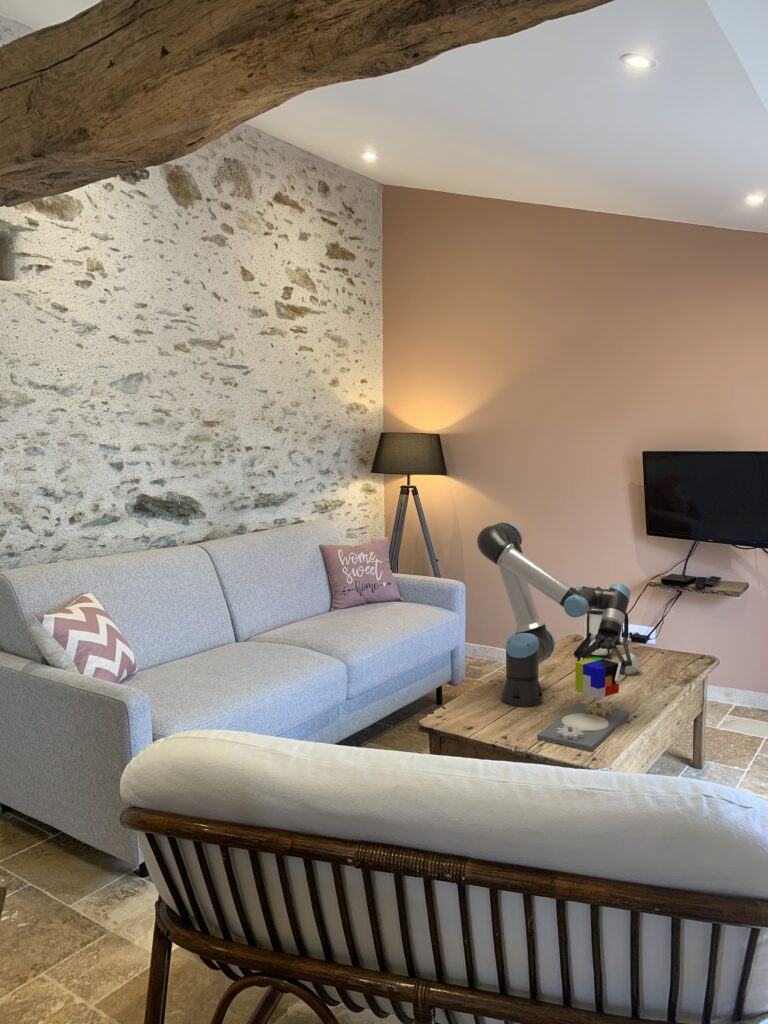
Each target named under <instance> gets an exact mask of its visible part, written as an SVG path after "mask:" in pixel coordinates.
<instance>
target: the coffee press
mask: <svg viewBox="0 0 768 1024" xmlns="http://www.w3.org/2000/svg"><path fill="white" fill-rule="evenodd" d="M596 588H599V589H602V588H601V587H600V586H596ZM603 611H604V610H599V609H591V610H590V611H588V612H587V613H586V614H585V615H583V634H582V635H583V636H582V637H583V641H584V640H585V639H586V637H587V634H588V633H591V634H592V635H597V633H598V629H599V626H600V622H601V618H602V615H603ZM624 637H626V638H627V640H628V638H629V616H628V613H627V612H626V614H625V619H624V622H623V637H622V639H624ZM583 641H582V642H583ZM595 641H596V639H594V640H593V641H591V643H590V644H589V645H588V647H589V646H591V645H592V644H593V642H595ZM597 645H598V644H597ZM617 646H623V645H622V644H621V642H620V643H619V644H618V645H617ZM588 647H587V648H588ZM587 648H586V649H587ZM612 652H613V649H611V650H608V649H601V648H599V649H598V650H595V651H594V652H593V653H591V654H590V655H589V656H587V657H586V658H585V659H589V658H590V656H591V655H593V656H605V657H606V659H607V660H612V658H613V656H612V654H611V653H612Z"/></svg>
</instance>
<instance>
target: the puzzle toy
mask: <svg viewBox="0 0 768 1024" xmlns="http://www.w3.org/2000/svg"><path fill="white" fill-rule="evenodd" d="M618 665H619V662H615V661H612V660H610V659H607V658H606V659H605V658H603V657H598V656H593V657H589V658H585V659H584V660H581V661H578V662H577V661H575V675H574V676H575V678H574V679H575V682H574V683H575V684H574V685H575V686H574V687H575V691H576V692H578V693H581V694H584V695H586V696H589V697H592V698H595V699H598V700H599V699H602V698H605V697H609V696H612V695H615V694H619V691H620V690H619V689H620V683H619V684H616V682H615V677H616V673H617V669H618Z"/></svg>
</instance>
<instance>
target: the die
mask: <svg viewBox="0 0 768 1024" xmlns="http://www.w3.org/2000/svg"><path fill="white" fill-rule="evenodd" d="M629 653H630V657H631V661H632V666H626V668H625V673H624V674H626V675H627V676H629V675H634V674H638V671H639V670H640V667H641V664H642V661H641V660H640V659H639V658H638V657H637V655H635V654H633V653H632V652H629ZM621 655H622V657H623V658H624V660H625V661H627V658H626V654H625V653H624V654H621ZM618 663H621V662H620V660H619V661H618ZM621 664H622V663H621Z"/></svg>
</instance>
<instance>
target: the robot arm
mask: <svg viewBox="0 0 768 1024" xmlns="http://www.w3.org/2000/svg"><path fill="white" fill-rule="evenodd" d="M522 540H523V535H522V532H521V530H520V529H519V528H518V527H517V526H516V525H514V524H513V523H510V522H499V523H496V524H493V525H492V524H491V525H488V526H485V527H484V528H482V530H481V531H480V532H479V533H478V535H477V540H476V544H477V548H478V550H479V551H480V553H481V554H482V555H483V556H484V557H485V558H486V559H487V560H489V561H490V562H491V563H493V564H495V565H496V566H498V568H499V571H500V575H501V578H502V581H503V584H504V588H505V592H506V595H507V599H508V600H509V603H510V604H509V605H510V608H511V610H512V613H513V616H514V619H515V622H516V629H515V631H514V634H512V635H509V636H508V637H507V638H506V641H505V643H506V645H505V681H504V683H503V686H502V688H501V692H500V700H501V701H502V702H503V703H504V704H506V705H508V706H509V705H510V706H513V707H514V706H515V707H522V708H523V707H534V706H538V705H541V704H542V703H543V702H544V694H543V690H542V687H541V684H540V681H539V666H540V664H541V663H543V662H544V661H546V660H548V659H549V658H550V657H551V655H552V654H553V652H554V651H555V646H556V641H555V637H554V635H553V634H552V632H550V631H549V630H548V629H547V627H546V624H545V622H543V621H542V620H540V618H539V615H538V612H537V611H538V610H537V608H536V605H535V602H534V599H533V595H532V592H531V589H530V586H529V584H530V585H531V586H532V587H533V588H535V589H536V590H538V591H539V592H541V593H542V594H543V595H545V596H546V597H548V598H549V599H550V600H553V601H554V602H556V603H557V604H558V605H560V606H561V607H562V608H563V609H564V612H565V614H566V615H567V616H569V617H571V618H575V619H576V618H579V617H584V615H585V614H586V613H587V612H588V611H590V610H591V609H599V610H604V611H603V615H602V618H601V622H600V626H599V629H598V633H597V635H592V634H591V633H588V634H587V637H586V639H585V640H584V641H582V642H581V643H580V645H579V646H578V647H577V648H576V649H575V650H574V652H573V655H574V657H575V659H577V660H576V662H578V661H581V660H585V659H587V658H586V657H587V656H589V655H590V654H591V653H593V652H594V651H595V650H598V649H599V648H601V649H608V650H611V649H612V651H614V653H615V654H616V656H617V658H618V660H619V661H620V662H621V663H622V664H621V663H619V662H618V663H619V665H618V669H617V673H616V677H615V682H616V684H619V685H620V680H621V675H622V676H623V675H625V674H626V673H625V668H626V666H632V661H631V657H630V653H631V652H630V650H629V640H628V639H627V638H626V637H624V636H623V637H624V639H623V638H621V635H622V631H623V630H622V629H623V627H624V619H625V614H626V613H627V610H628V606H629V603H630V598H631V590H630V588H629V587H628V586H626V585H625V584H622V583H619V582H617V583H612V584H610V586H609V588H608V589H607V588H601V589H599V588H597V587H589V586H585V585H583V586H581V585H579V586H578V585H576V586H574V587H573V586H571V585H570V584H568V583H567V582H565V581H564V580H562V579H561V578H559V577H558V576H556V575H555V574H553V573H552V572H551V571H549V570H547V569H546V568H544V567H543V566H541V565H540V564H538V562H535V561H534V560H533V559H531V558H530V557H528V556H526V555H525V554H524V553H523V550H522V547H521V545H522V542H523V541H522ZM594 639H596V641H595V642H593V644H592V645H591V646H589V647H588V645H589V644H590V643H591V641H593V640H594ZM620 642H621V644H622V645H621V646H622V647H623V649H624V654H626V658H627V661H625V660H624V658H623V657H622V655H623V654H621V652H620V650H619V648H618V647H617V646H619V645H618V644H619V643H620ZM597 644H598V645H597ZM587 647H588V648H587ZM586 648H587V649H586ZM590 656H591V655H590ZM590 656H589V657H590Z"/></svg>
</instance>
